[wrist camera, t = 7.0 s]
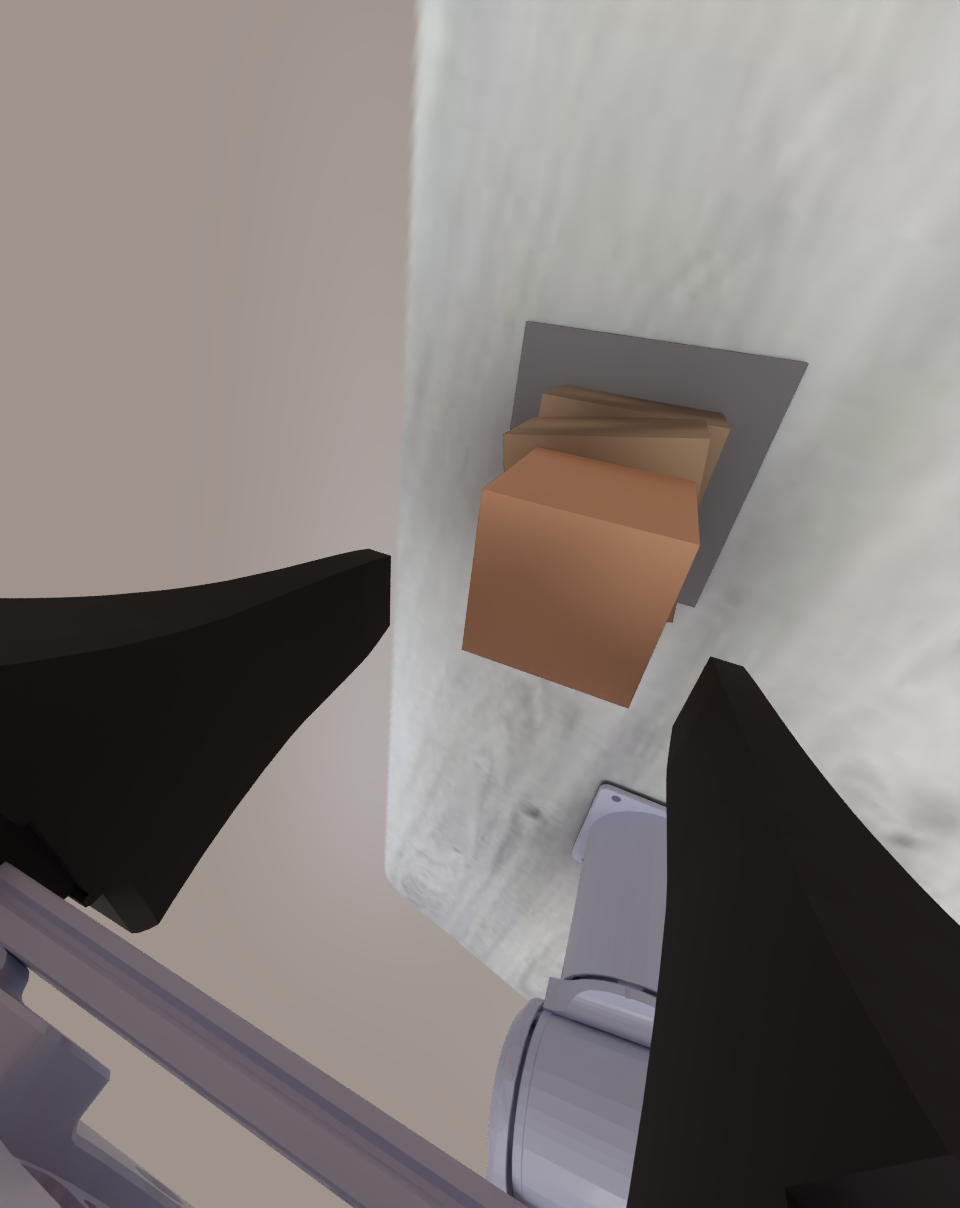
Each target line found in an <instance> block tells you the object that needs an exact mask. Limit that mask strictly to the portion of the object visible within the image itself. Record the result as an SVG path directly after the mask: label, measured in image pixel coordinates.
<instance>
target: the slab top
mask: <svg viewBox="0 0 960 1208" xmlns="http://www.w3.org/2000/svg"><path fill="white" fill-rule="evenodd" d="M709 443H710V435H709V431H708V426H707V422H706V419H691V418H566V417H533V418H531V419H530V420H528V421H526V422H524V423H522V424H521V425H519V426H517V427H515V428H514V429H512V430H510V431H508V432H506V433H505V434H503V446H504V472H506V471H507V470H508V469H509V468H511V467H512V466H513V465H515V464H516V463H517V462H518V461H520V460H521V459H522V458H524V457H525V456H526V455H527V454H529V453H530V452H531V451H533V450H534V449H535V448H537V447H540V448H544V449H549V450H553V451H558V452H562V453H567V454H571V455H576V456H580V457H585V458H589V459H594V460H598V461H602V462H607V463H611V464H616V465H620V466H625V467H629V468H634V469H638V470H643V471H647V472H652V473H656V474H661V475H665V476H670V477H674V478H679V479H683V480H688V481H692V482H696V495H697V502H698V497H699V492H700V487H701V482H702V477H703V472H704V468H705V463H706V458H707V453H708V448H709ZM677 599H678V597H677ZM677 599H676V601H675V603H674V606H673V608H672V610H671V612H670V615H669V617H668V619H667V622H671V623H673V618H674V614H675V609H676V604H677Z"/></svg>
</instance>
